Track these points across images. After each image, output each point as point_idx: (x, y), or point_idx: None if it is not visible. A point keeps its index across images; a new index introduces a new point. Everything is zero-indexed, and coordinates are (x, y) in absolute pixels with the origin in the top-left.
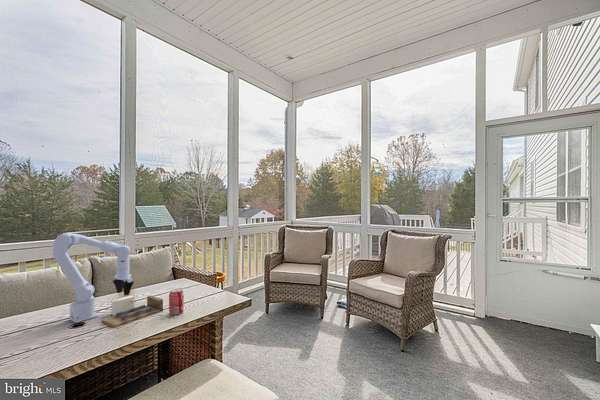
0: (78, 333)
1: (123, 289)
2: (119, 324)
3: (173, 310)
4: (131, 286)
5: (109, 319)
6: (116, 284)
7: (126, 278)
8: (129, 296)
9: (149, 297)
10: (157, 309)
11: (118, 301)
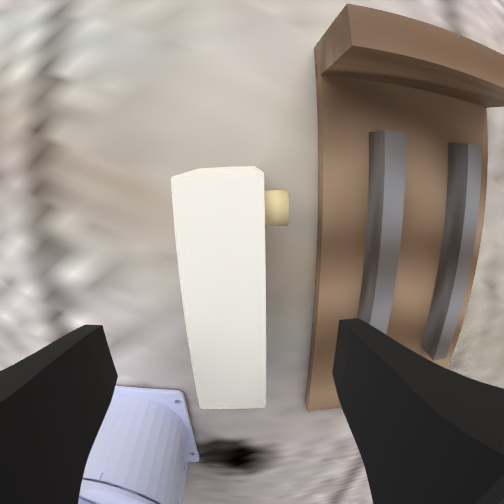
0: (340, 465)
1: (366, 463)
2: (447, 360)
3: None
4: (477, 386)
5: None
6: (71, 501)
7: None
8: (198, 220)
9: (406, 56)
10: (470, 103)
11: (264, 369)
